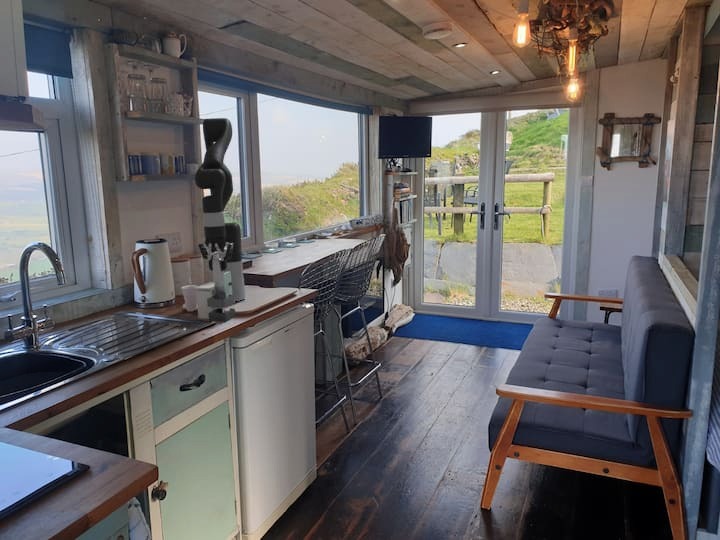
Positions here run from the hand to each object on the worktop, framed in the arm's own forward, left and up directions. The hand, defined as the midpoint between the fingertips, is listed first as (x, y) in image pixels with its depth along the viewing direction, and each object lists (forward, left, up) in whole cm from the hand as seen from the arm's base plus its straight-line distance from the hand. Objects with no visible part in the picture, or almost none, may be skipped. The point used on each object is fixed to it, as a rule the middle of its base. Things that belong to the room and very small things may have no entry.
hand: (218, 270), depth 201 cm
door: (-3, 0, -12) cm, 12 cm away
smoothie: (-9, -19, -19) cm, 28 cm away
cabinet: (-3, -3, -19) cm, 19 cm away
